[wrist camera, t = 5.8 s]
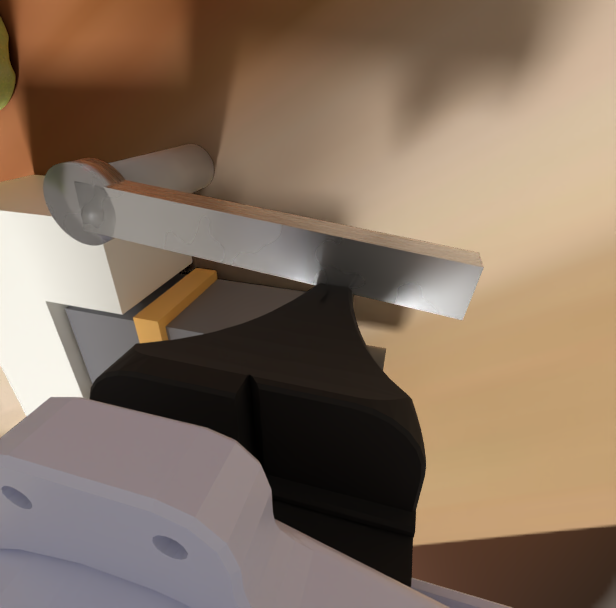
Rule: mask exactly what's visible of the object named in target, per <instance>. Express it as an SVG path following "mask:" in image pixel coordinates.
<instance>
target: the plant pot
mask: <svg viewBox="0 0 616 608" xmlns="http://www.w3.org/2000/svg"><path fill="white" fill-rule="evenodd" d="M8 41H9V36H8V33H7V30H6V28H5V25H4V23H3V21H2V19H1V17H0V110H1V109H2V108H4V107H5V106H6V105H7V103H8V102H9V100H10V98H11V96H12V94H13V90H14V86H15V78H16V77H15V73H14V71H13V69H12V66H11V63H10V60H9V51H8Z"/></svg>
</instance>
